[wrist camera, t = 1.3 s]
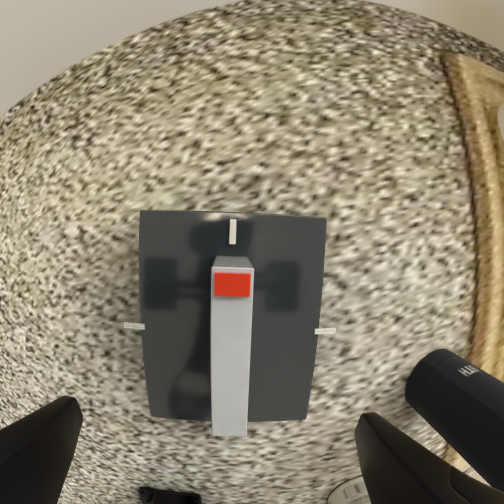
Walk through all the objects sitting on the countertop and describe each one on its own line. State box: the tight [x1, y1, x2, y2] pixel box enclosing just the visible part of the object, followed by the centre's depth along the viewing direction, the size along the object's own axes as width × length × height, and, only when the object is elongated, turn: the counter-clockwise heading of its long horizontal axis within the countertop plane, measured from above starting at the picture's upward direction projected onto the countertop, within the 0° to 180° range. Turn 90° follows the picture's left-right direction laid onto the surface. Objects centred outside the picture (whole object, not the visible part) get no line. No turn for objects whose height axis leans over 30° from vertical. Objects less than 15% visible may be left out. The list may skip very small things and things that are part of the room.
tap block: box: [124, 210, 336, 422], centre depth 19 cm, size 14×13×3 cm
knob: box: [211, 256, 254, 436], centre depth 15 cm, size 9×2×5 cm, turn 178°
